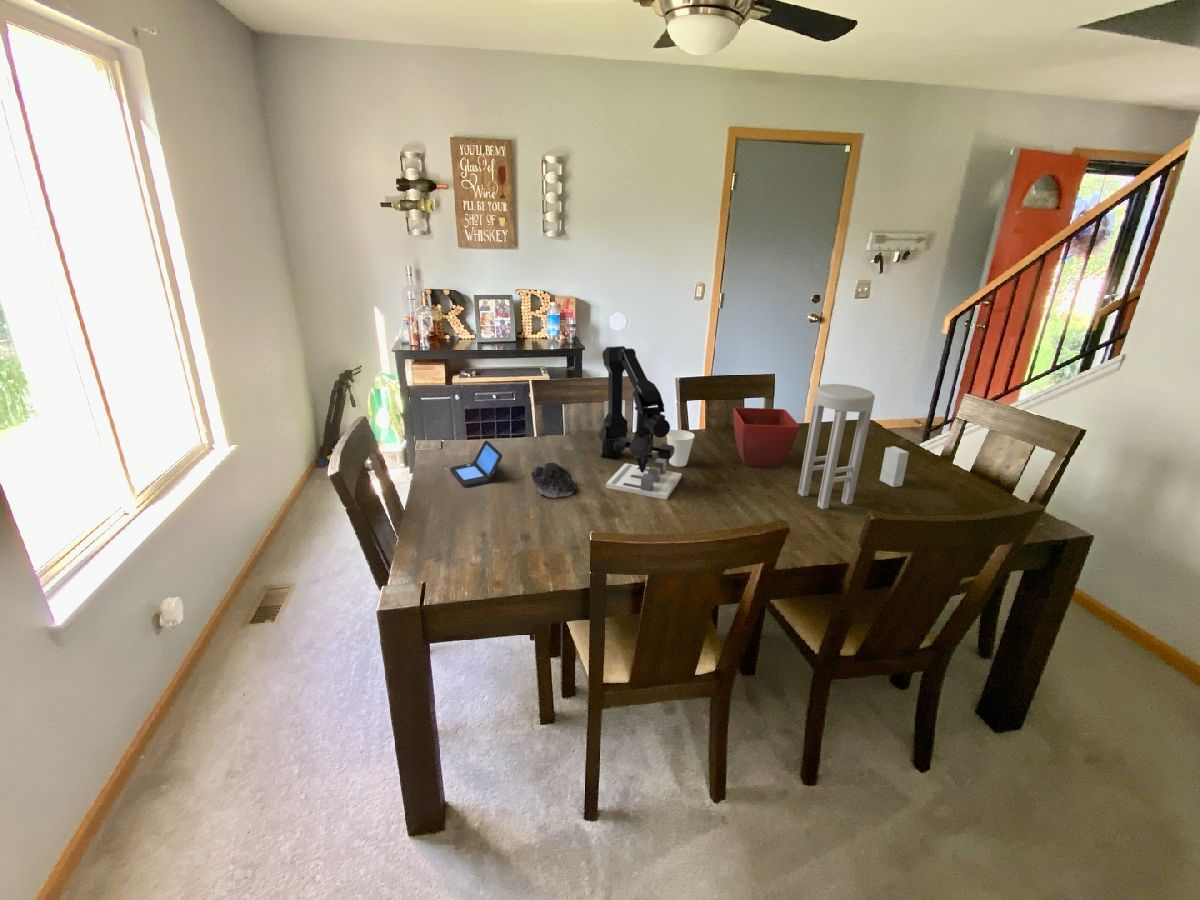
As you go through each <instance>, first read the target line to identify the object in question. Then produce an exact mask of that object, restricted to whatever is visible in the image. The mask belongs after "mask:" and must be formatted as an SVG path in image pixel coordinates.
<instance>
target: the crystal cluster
mask: <svg viewBox="0 0 1200 900" xmlns="http://www.w3.org/2000/svg"><path fill="white" fill-rule="evenodd" d="M530 474H531V477H532V483H533V485H534V487H535V489H536V490H537V491H538V493H539V495H542V496H545V497H547V498H553V499H555V498H559V497H560V498H561V497H568V496H571V495H572V494H573V493H574V491H575V489H576V483H575V481H574V480H573V479H572V477H573V476H572V475H571V473H570V472H569V471H568V470H567V469H566V468H564V467H563V466H561V465H559V464H558V463H556V462H545V464H544V466H539V465H537V466H535V467H534V469H533V470H532V471H531V473H530Z"/></svg>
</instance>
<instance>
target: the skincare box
mask: <svg viewBox="0 0 1200 900" xmlns="http://www.w3.org/2000/svg"><path fill="white" fill-rule="evenodd" d="M909 454H910V453H909V451H908V450H907V451H906V450H904V449H902V448H900V447H897V446H895V445H893V446H887V447H885V449H884V454H883V455H884V456H883V460H882V466H881V472H880V476H879V481H880V482H883V483H884V484H887V485H888V486H890V487H892V488H896V487H902V486H903V483H904V478H905V474H906V469H907V463H908V459H909Z"/></svg>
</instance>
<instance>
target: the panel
mask: <svg viewBox="0 0 1200 900" xmlns="http://www.w3.org/2000/svg"><path fill="white" fill-rule="evenodd" d="M649 468H650V467H649V466H646V469H645V471H644V472H643V473H642V472H641V471H640V468H639V465H638V464H637V465H636V464H631V463H624V464H623V465H622V466H621V467H620V468H619V469H618V470H617V471H616V472H615V473H614V474H613V475H612V477H611V478H609V480H608V481H607V482H606V483H605V488H606V489H612V490H616V491H621V492H627V493H631V494H636V495H641V496H645V497H646V496H647V497H651V498H657V499H662V500H668V498H669V497H670V495H671V493H672V492H673V491H674V489H675V488H676V487H677V485H678V483H679V481H681V479H682V473H681V472H675V471H670V470H666V471H665V472H664V473H663V475H662V474H660V479H659V480H658V481H657V483H655V482H654V483H653V488H652V489H651V490H650V491H645V490H641V478H642V476H643V475H644V474H648V469H649Z"/></svg>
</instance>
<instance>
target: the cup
mask: <svg viewBox="0 0 1200 900" xmlns="http://www.w3.org/2000/svg"><path fill="white" fill-rule="evenodd" d="M665 437H666V439H667V440H666V443H667V445H673V446H674V448H675V450H674V454H673V456H672V457H671V458H670V459H668V461H669V464H670V465H671V466H673V467H677V468H682V467H685V466H687V465H688V461H689V457H690V453H691V449H692V446H693V443H694V439H695V437H696V436H695V434H694V433H693V432H691V431H688V430H682V429H673V430H670V431H669V433H668V434H667V435H666V436H665Z"/></svg>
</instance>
